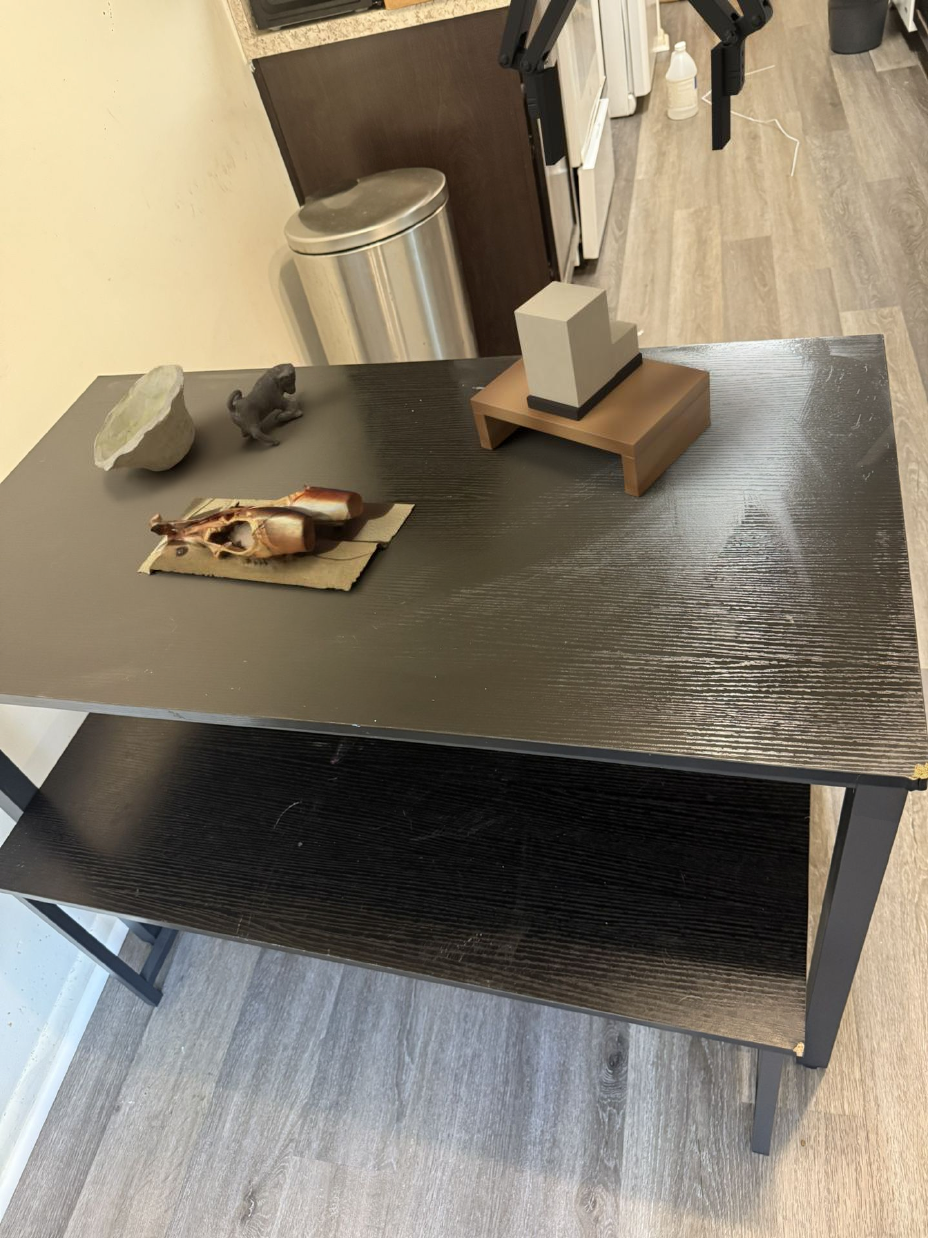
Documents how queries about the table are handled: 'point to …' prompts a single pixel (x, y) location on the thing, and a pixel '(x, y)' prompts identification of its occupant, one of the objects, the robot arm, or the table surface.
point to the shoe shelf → (610, 417)
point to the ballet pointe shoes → (277, 537)
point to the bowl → (147, 424)
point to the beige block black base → (573, 349)
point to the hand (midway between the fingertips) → (635, 153)
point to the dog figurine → (265, 402)
